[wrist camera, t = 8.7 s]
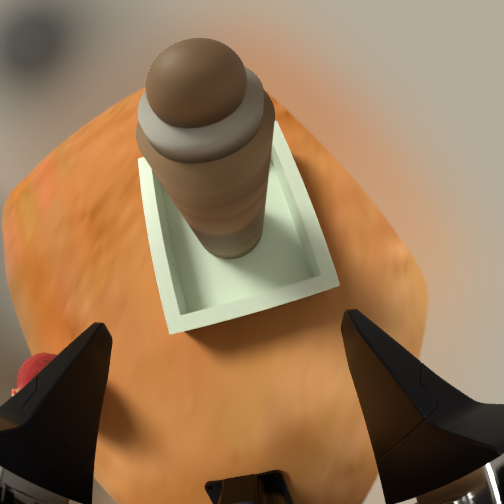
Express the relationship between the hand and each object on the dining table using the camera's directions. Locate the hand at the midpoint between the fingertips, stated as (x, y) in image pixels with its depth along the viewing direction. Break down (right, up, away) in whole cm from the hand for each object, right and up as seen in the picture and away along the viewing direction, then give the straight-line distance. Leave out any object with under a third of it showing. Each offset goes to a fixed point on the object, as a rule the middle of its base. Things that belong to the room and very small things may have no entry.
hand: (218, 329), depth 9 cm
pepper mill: (-1, +5, +11) cm, 12 cm away
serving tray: (0, +4, +12) cm, 13 cm away
